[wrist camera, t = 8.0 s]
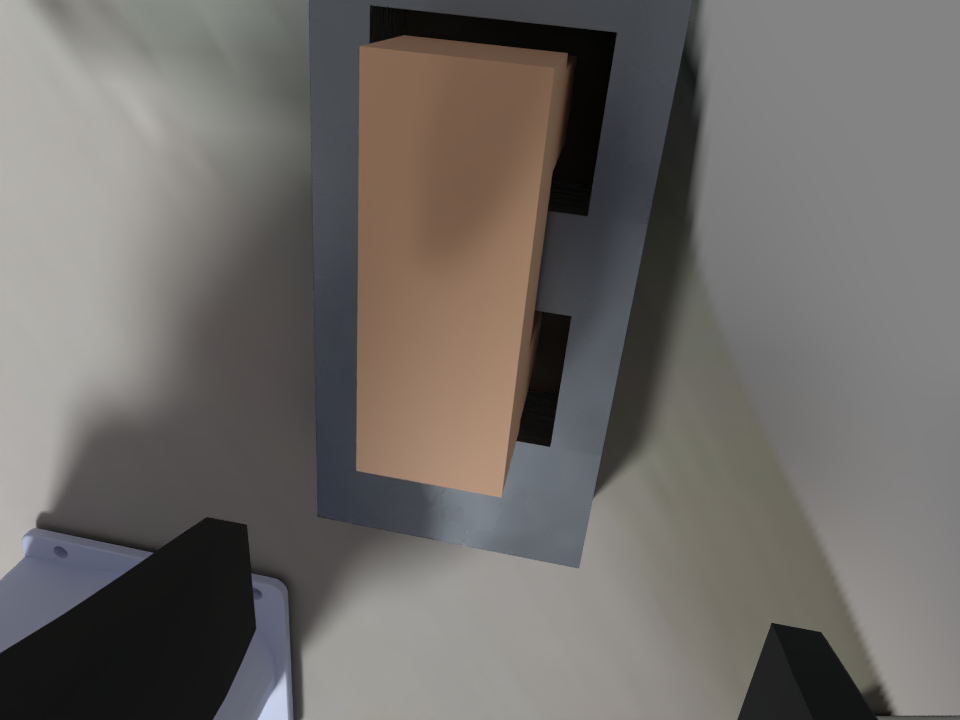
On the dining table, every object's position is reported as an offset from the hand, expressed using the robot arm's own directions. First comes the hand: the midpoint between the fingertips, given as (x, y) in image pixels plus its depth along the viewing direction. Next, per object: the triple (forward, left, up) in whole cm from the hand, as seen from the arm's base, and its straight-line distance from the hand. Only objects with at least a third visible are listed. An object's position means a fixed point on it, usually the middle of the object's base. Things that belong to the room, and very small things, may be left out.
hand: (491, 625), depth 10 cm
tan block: (-2, +3, -10) cm, 10 cm away
